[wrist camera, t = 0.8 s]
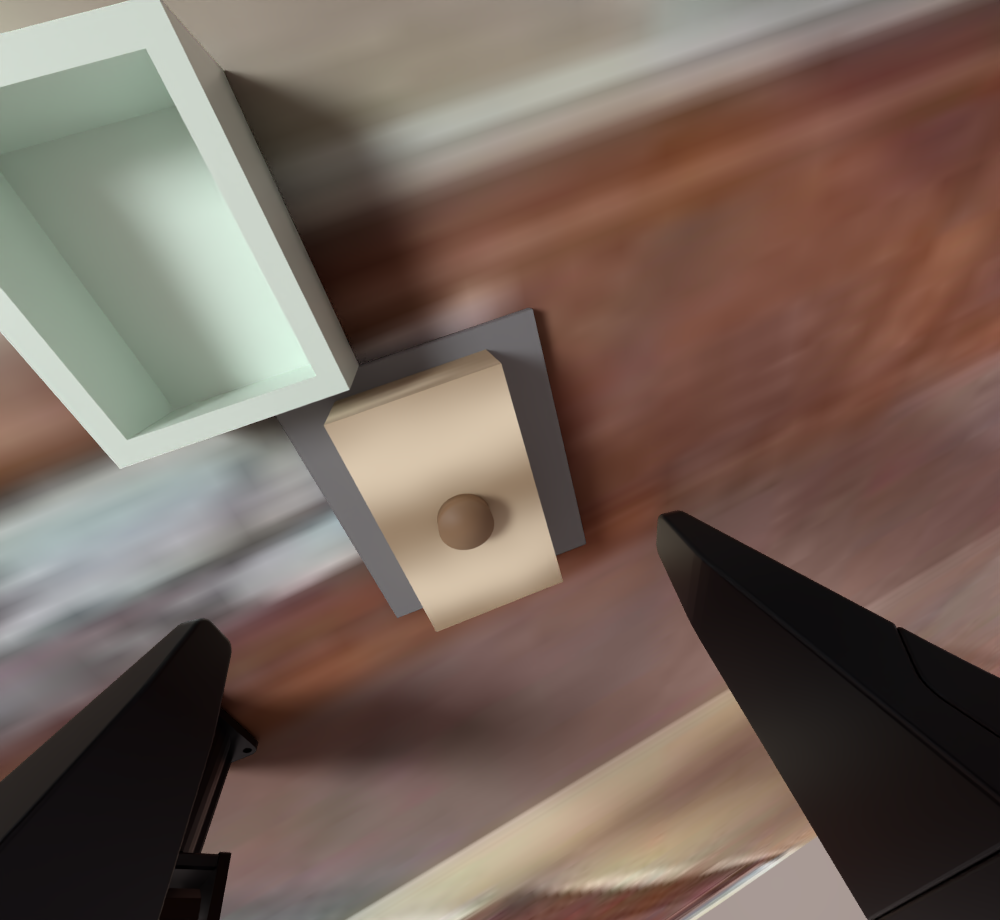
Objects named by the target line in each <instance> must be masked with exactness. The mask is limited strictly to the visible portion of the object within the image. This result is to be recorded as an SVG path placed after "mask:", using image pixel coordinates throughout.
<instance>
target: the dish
mask: <svg viewBox="0 0 1000 920" xmlns="http://www.w3.org/2000/svg"><path fill="white" fill-rule="evenodd" d="M0 332H1V333H2V334H3V335H4V336H5V338H6V339H7V340H8V341H9V342H10V343H11V344H12V346H13V347H14V348H15V349H16V350H17V351H18V352H19V354H20V355H21V356H22V357H23V358H24V359H25V360H26V362H27V363H28V364H29V365H30V366H31V367H32V368H33V370H34V371H35V372H36V373H37V374H38V375H39V377H40V378H41V379H42V380H43V381H44V382H45V383H46V385H47V386H48V387H49V388H50V389H51V390H52V391H53V393H54V394H55V395H56V396H57V397H58V398H59V399H60V401H61V402H62V403H63V404H64V405H65V406H66V408H67V409H68V410H69V411H70V412H71V413H72V414H73V416H74V417H75V418H76V419H77V420H78V421H79V422H80V424H81V425H82V426H83V427H84V428H85V429H86V430H87V432H88V433H89V434H90V435H91V436H92V437H93V438H94V440H95V441H96V442H97V443H98V444H99V445H100V447H101V448H102V449H103V450H104V451H105V452H106V453H107V455H108V456H109V457H110V458H111V459H112V460H113V461H114V463H115V464H116V465H117V466H118V467H119V468H120V469H121V468H124V467H127V466H130V465H133V464H136V463H139V462H142V461H144V460H147V459H150V458H153V457H156V456H159V455H162V454H165V453H168V452H171V451H173V450H176V449H179V448H182V447H185V446H188V445H191V444H194V443H197V442H200V441H203V440H205V439H208V438H211V437H214V436H217V435H220V434H223V433H226V432H229V431H232V430H234V429H237V428H240V427H243V426H246V425H249V424H252V423H255V422H258V421H261V420H263V419H266V418H269V417H272V416H275V415H278V414H281V413H284V412H287V411H290V410H293V409H295V408H298V407H301V406H304V405H307V404H310V403H313V402H316V401H319V400H322V399H324V398H327V397H330V396H333V395H336V394H339V393H342V392H345V391H348V390H350V388H351V385H352V382H353V380H354V377H355V375H356V372H357V370H358V367H359V364H358V362H357V360H356V358H355V355H354V353H353V351H352V349H351V347H350V345H349V342H348V340H347V338H346V336H345V334H344V332H343V329H342V327H341V325H340V323H339V321H338V319H337V316H336V314H335V312H334V310H333V308H332V306H331V303H330V301H329V299H328V297H327V295H326V293H325V290H324V288H323V286H322V284H321V282H320V280H319V277H318V275H317V273H316V271H315V269H314V267H313V264H312V262H311V260H310V258H309V256H308V254H307V251H306V249H305V247H304V245H303V243H302V241H301V238H300V236H299V234H298V232H297V230H296V228H295V225H294V223H293V221H292V219H291V217H290V214H289V212H288V210H287V208H286V206H285V204H284V201H283V199H282V197H281V195H280V193H279V191H278V188H277V186H276V184H275V182H274V180H273V178H272V175H271V173H270V171H269V169H268V167H267V165H266V162H265V160H264V158H263V156H262V154H261V152H260V149H259V147H258V145H257V143H256V141H255V139H254V136H253V134H252V132H251V130H250V128H249V126H248V123H247V121H246V119H245V117H244V115H243V113H242V110H241V108H240V106H239V104H238V102H237V100H236V97H235V95H234V93H233V91H232V89H231V87H230V84H229V82H228V80H227V78H226V76H225V74H224V71H223V69H222V68H221V67H220V66H219V64H218V63H217V62H216V61H215V60H214V59H213V58H212V57H211V55H210V54H209V53H208V52H207V51H206V50H205V49H204V47H203V46H202V45H201V44H200V43H199V42H198V41H197V39H196V38H195V37H194V36H193V35H192V34H191V33H190V31H189V30H188V29H187V28H186V27H185V26H184V25H183V23H182V22H181V21H180V20H179V19H178V18H177V17H176V15H175V14H174V13H173V12H172V11H171V10H170V9H169V7H168V6H167V5H166V4H165V3H164V2H163V1H162V0H129V1H126V2H122V3H118V4H114V5H110V6H106V7H102V8H98V9H94V10H91V11H87V12H83V13H79V14H75V15H71V16H67V17H63V18H59V19H56V20H52V21H48V22H44V23H40V24H36V25H32V26H28V27H24V28H20V29H17V30H13V31H9V32H5V33H1V34H0Z"/></svg>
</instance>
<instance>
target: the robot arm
mask: <svg viewBox="0 0 1000 920" xmlns="http://www.w3.org/2000/svg"><path fill="white" fill-rule="evenodd" d="M656 545H657V550H658V554H659V556H660V558H661V560H662V563H663V565H664V567H665V569H666V571H667V573H668V576H669V578H670V580H671V582H672V584H673V586H674V589H675V591H676V593H677V595H678V597H679V599H680V602H681V604H682V606H683V608H684V610H685V612H686V615H687V617H688V619H689V621H690V623H691V625H692V627H693V628H694V630H695V632H696V634H697V635H698V637H699V639H700V641H701V642H702V644H703V646H704V647H705V649H706V651H707V652H708V654H709V656H710V657H711V659H712V661H713V662H714V664H715V666H716V667H717V669H718V671H719V672H720V674H721V676H722V677H723V679H724V681H725V682H726V684H727V686H728V687H729V689H730V691H731V692H732V694H733V696H734V697H735V699H736V701H737V702H738V704H739V706H740V707H741V709H742V711H743V712H744V714H745V716H746V717H747V719H748V721H749V722H750V724H751V726H752V728H753V729H754V731H755V733H756V734H757V736H758V738H759V739H760V741H761V743H762V744H763V746H764V748H765V749H766V751H767V753H768V754H769V756H770V758H771V759H772V761H773V763H774V764H775V766H776V768H777V769H778V771H779V773H780V774H781V776H782V778H783V779H784V781H785V783H786V784H787V786H788V788H789V789H790V791H791V793H792V794H793V796H794V798H795V799H796V801H797V803H798V804H799V806H800V808H801V809H802V811H803V813H804V814H805V816H806V818H807V819H808V821H809V823H810V824H811V826H812V828H813V830H814V831H815V833H816V835H817V836H818V838H819V839H820V841H821V843H822V844H823V846H824V848H825V850H826V851H827V853H828V854H829V856H830V858H831V860H832V861H833V863H834V864H835V866H836V868H837V870H838V871H839V873H840V874H841V876H842V878H843V880H844V881H845V883H846V885H847V886H848V888H849V890H850V891H851V893H852V895H853V896H854V898H855V900H856V901H857V903H858V905H859V906H860V908H861V910H862V911H863V913H864V915H865V916H866V918H867V919H868V920H1000V678H999V677H997V676H995V675H993V674H991V673H989V672H987V671H985V670H983V669H981V668H979V667H977V666H975V665H973V664H971V663H969V662H967V661H965V660H963V659H961V658H959V657H957V656H955V655H953V654H951V653H949V652H947V651H946V650H944V649H942V648H940V647H938V646H936V645H934V644H932V643H930V642H928V641H926V640H924V639H922V638H921V637H919V636H917V635H915V634H913V633H911V632H909V631H907V630H906V629H904V628H901V627H897V628H896V626H895V624H894V623H892V622H890V621H888V620H886V619H884V618H883V617H881V616H879V615H877V614H875V613H873V612H871V611H869V610H868V609H866V608H864V607H862V606H860V605H858V604H856V603H854V602H852V601H851V600H849V599H847V598H845V597H843V596H841V595H839V594H837V593H836V592H834V591H832V590H830V589H828V588H826V587H824V586H822V585H820V584H819V583H817V582H815V581H813V580H811V579H809V578H807V577H805V576H804V575H802V574H800V573H798V572H796V571H794V570H792V569H790V568H789V567H787V566H785V565H783V564H781V563H779V562H777V561H775V560H773V559H772V558H770V557H768V556H766V555H764V554H762V553H760V552H758V551H757V550H755V549H753V548H751V547H749V546H747V545H745V544H743V543H741V542H740V541H738V540H736V539H734V538H732V537H730V536H728V535H726V534H725V533H723V532H721V531H719V530H717V529H715V528H713V527H711V526H709V525H708V524H706V523H704V522H702V521H700V520H698V519H696V518H694V517H693V516H691V515H689V514H687V513H685V512H683V511H673V512H668V513H664V514H661V515H660V516H659V518H658V525H657V541H656ZM230 658H231V644H230V641H229V640H228V639H227V638H226V637H225V636H224V635H223V634H222V632H221V631H220V630H219V629H218V628H217V627H216V626H215V625H214V624H213V623H212V622H211V621H210V620H208V619H205V618H201V619H196V620H192V621H187V622H184V623H181V624H180V625H178V626H177V627H176V628H175V629H174V630H172V631H171V632H170V633H169V634H168V635H167V636H166V637H164V638H163V639H162V640H161V641H160V642H159V643H158V644H156V645H155V646H154V647H153V648H152V649H151V650H150V651H149V652H147V653H146V654H145V655H144V656H143V657H142V658H141V659H139V660H138V661H137V662H136V663H135V664H134V665H133V666H132V667H130V668H129V669H128V670H127V671H126V672H125V673H124V674H122V675H121V676H120V677H119V678H118V679H117V680H116V681H114V682H113V683H112V684H111V685H110V686H109V687H108V688H107V689H105V690H104V691H103V692H102V693H101V694H100V695H99V696H97V697H96V698H95V699H94V700H93V701H92V702H91V703H89V704H88V705H87V706H86V707H85V708H84V709H83V710H82V711H80V712H79V713H78V714H77V715H76V716H75V717H74V718H72V719H71V720H70V721H69V722H68V723H67V724H66V725H65V726H63V727H62V728H61V729H60V730H59V731H58V732H57V733H55V734H54V735H53V736H52V737H51V738H50V739H49V740H47V741H46V742H45V743H44V744H43V745H42V746H41V747H40V748H38V749H37V750H36V751H35V752H34V753H33V754H32V755H30V756H29V757H28V758H27V759H26V760H25V761H24V762H22V763H21V764H20V765H19V766H18V767H17V768H16V769H15V770H13V771H12V772H11V773H10V774H9V775H8V776H7V777H5V778H4V779H3V780H2V781H1V782H0V920H219V919H220V913H221V908H222V902H223V897H224V891H225V886H226V880H227V874H228V869H229V863H230V858H231V853H230V852H219V854H204V853H201V851H202V848H203V845H204V842H205V839H206V836H207V833H208V830H209V827H210V824H211V821H212V818H213V815H214V812H215V809H216V806H217V803H218V800H219V797H220V794H221V791H222V788H223V785H224V782H225V779H226V776H227V773H228V771H229V768H230V765H231V763H232V762H234V761H237V760H239V759H242V758H244V757H247V756H249V755H252V754H253V753H255V752H256V749H257V746H258V741H257V740H256V739H255V738H253V737H252V736H251V735H250V734H249V733H248V732H247V731H246V730H245V729H244V728H242V727H241V726H240V725H239V724H238V723H237V722H236V721H235V720H234V719H233V718H231V717H230V716H229V715H228V714H227V713H226V712H225V711H224V710H223V709H221V708H220V707H221V702H222V697H223V692H224V687H225V682H226V677H227V672H228V668H229V663H230Z"/></svg>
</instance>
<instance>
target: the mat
mask: <svg viewBox="0 0 1000 920" xmlns="http://www.w3.org/2000/svg"><path fill="white" fill-rule="evenodd" d="M485 349H486V350H487V351H488V352H489V353H490V354H492V355H493V356H494V357H495V358H496V359H497V360H498V361H499V362H500V363H501V364H502V368H503V371H504V375H505V378H506V382H507V385H508V389H509V393H510V396H511V400H512V403H513V407H514V410H515V414H516V417H517V421H518V424H519V428H520V431H521V435H522V438H523V442H524V446H525V449H526V453H527V456H528V460H529V463H530V467H531V470H532V474H533V477H534V481H535V484H536V488H537V491H538V495H539V498H540V502H541V506H542V509H543V513H544V516H545V520H546V523H547V527H548V530H549V534H550V537H551V541H552V544H553V548H554V551H555V555H559V554H561V553H564V552H566V551H569V550H572V549H574V548H577V547H579V546H582V545H584V544H586V540H585V536H584V532H583V527H582V523H581V519H580V514H579V510H578V505H577V501H576V497H575V492H574V488H573V484H572V479H571V475H570V470H569V466H568V462H567V457H566V453H565V449H564V444H563V440H562V435H561V431H560V427H559V422H558V418H557V414H556V409H555V405H554V401H553V396H552V392H551V387H550V383H549V379H548V374H547V370H546V366H545V361H544V357H543V352H542V348H541V344H540V339H539V335H538V331H537V326H536V322H535V317H534V313H533V309H531V308H526V309H524V310H521V311H518V312H515V313H512V314H509V315H506V316H503V317H500V318H497V319H494V320H491V321H488V322H485V323H482V324H479V325H477V326H474V327H471V328H468V329H465V330H462V331H459V332H456V333H453V334H450V335H447V336H444V337H441V338H438V339H435V340H432V341H430V342H427V343H424V344H421V345H418V346H415V347H412V348H409V349H406V350H403V351H400V352H397V353H394V354H391V355H388V356H385V357H382V358H380V359H377V360H374V361H371V362H368V363H365V364H362V365H359V367H358V370H357V372H356V375H355V377H354V380H353V382H352V385H351V388H350V390H348V391H345V392H342V393H339V394H336V395H333V396H330V397H327V398H324V399H322V400H319V401H316V402H313V403H310V404H307V405H304V406H301V407H298V408H295V409H293V410H290V411H287V412H284V413H281V414H278V415H275V416H276V417H277V419H278V421H279V422H280V424H281V426H282V427H283V429H284V431H285V432H286V434H287V436H288V437H289V439H290V441H291V442H292V444H293V446H294V447H295V449H296V451H297V452H298V454H299V456H300V457H301V459H302V461H303V462H304V464H305V466H306V467H307V469H308V471H309V472H310V474H311V475H312V477H313V479H314V480H315V482H316V484H317V485H318V487H319V489H320V490H321V492H322V494H323V495H324V497H325V499H326V500H327V502H328V504H329V505H330V507H331V509H332V510H333V512H334V514H335V515H336V517H337V519H338V520H339V522H340V524H341V525H342V527H343V529H344V530H345V532H346V534H347V535H348V537H349V538H350V540H351V542H352V543H353V545H354V547H355V548H356V550H357V552H358V553H359V555H360V557H361V558H362V560H363V562H364V563H365V565H366V567H367V568H368V570H369V572H370V573H371V575H372V577H373V578H374V580H375V582H376V583H377V585H378V587H379V588H380V590H381V592H382V593H383V595H384V597H385V598H386V600H387V602H388V603H389V605H390V606H391V608H392V610H393V611H394V613H395V615H396V616H397V618H398V617H401V616H403V615H406V614H409V613H411V612H414V611H416V610H419V609H421V608H423V606H422V605H421V603H420V601H419V599H418V597H417V595H416V594H415V592H414V590H413V588H412V586H411V584H410V583H409V581H408V579H407V577H406V575H405V573H404V572H403V570H402V568H401V566H400V564H399V562H398V561H397V559H396V557H395V555H394V553H393V551H392V550H391V548H390V546H389V544H388V542H387V540H386V539H385V537H384V535H383V533H382V531H381V529H380V528H379V526H378V524H377V522H376V520H375V518H374V517H373V515H372V513H371V511H370V509H369V507H368V506H367V504H366V502H365V500H364V498H363V496H362V495H361V493H360V491H359V489H358V487H357V485H356V484H355V482H354V480H353V478H352V476H351V474H350V473H349V471H348V469H347V467H346V465H345V463H344V462H343V460H342V458H341V456H340V454H339V453H338V451H337V449H336V447H335V445H334V443H333V442H332V440H331V438H330V436H329V434H328V432H327V431H326V429H325V427H324V424H325V422H326V419H327V417H328V415H329V413H330V411H331V409H332V407H333V404H334V402H335V401H338V400H341V399H344V398H347V397H349V396H352V395H355V394H358V393H361V392H364V391H367V390H370V389H373V388H376V387H378V386H381V385H384V384H387V383H390V382H393V381H396V380H399V379H402V378H404V377H407V376H410V375H413V374H416V373H419V372H422V371H425V370H428V369H430V368H433V367H436V366H439V365H442V364H445V363H448V362H451V361H454V360H457V359H459V358H462V357H465V356H468V355H471V354H474V353H477V352H480V351H483V350H485Z"/></svg>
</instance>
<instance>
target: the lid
mask: <svg viewBox="0 0 1000 920" xmlns="http://www.w3.org/2000/svg"><path fill="white" fill-rule="evenodd" d="M324 427H325V429H326V431H327V432H328V434H329V436H330V438H331V440H332V442H333V443H334V445H335V447H336V449H337V451H338V453H339V454H340V456H341V458H342V460H343V462H344V463H345V465H346V467H347V469H348V471H349V473H350V474H351V476H352V478H353V480H354V482H355V484H356V485H357V487H358V489H359V491H360V493H361V495H362V496H363V498H364V500H365V502H366V504H367V506H368V507H369V509H370V511H371V513H372V515H373V517H374V518H375V520H376V522H377V524H378V526H379V528H380V529H381V531H382V533H383V535H384V537H385V539H386V540H387V542H388V544H389V546H390V548H391V550H392V551H393V553H394V555H395V557H396V559H397V561H398V562H399V564H400V566H401V568H402V570H403V572H404V573H405V575H406V577H407V579H408V581H409V583H410V584H411V586H412V588H413V590H414V592H415V594H416V595H417V597H418V599H419V601H420V603H421V605H422V606H423V608H424V610H425V612H426V614H427V616H428V617H429V619H430V621H431V623H432V625H433V627H434V628H435V630H436V632H438V631H440V630H443V629H445V628H448V627H450V626H453V625H455V624H458V623H460V622H463V621H465V620H468V619H470V618H473V617H475V616H478V615H480V614H483V613H485V612H488V611H490V610H493V609H495V608H498V607H500V606H503V605H505V604H508V603H510V602H513V601H515V600H518V599H520V598H523V597H525V596H528V595H530V594H533V593H535V592H538V591H540V590H543V589H545V588H548V587H550V586H553V585H555V584H558V583H561V582H563V580H562V576H561V573H560V569H559V566H558V562H557V559H556V555H555V551H554V548H553V544H552V541H551V537H550V534H549V530H548V527H547V523H546V520H545V516H544V513H543V509H542V506H541V502H540V498H539V495H538V491H537V488H536V484H535V481H534V477H533V474H532V470H531V467H530V463H529V460H528V456H527V453H526V449H525V446H524V442H523V438H522V435H521V431H520V428H519V424H518V421H517V417H516V414H515V410H514V407H513V403H512V400H511V396H510V393H509V389H508V385H507V382H506V378H505V375H504V371H503V368H502V364H501V363H500V362H499V361H498V360H497V359H496V358H495V357H494V356H493V355H492V354H490V353H489V352H488V351H487V350H486V349H485V350H483V351H480V352H477V353H474V354H471V355H468V356H465V357H462V358H459V359H457V360H454V361H451V362H448V363H445V364H442V365H439V366H436V367H433V368H430V369H428V370H425V371H422V372H419V373H416V374H413V375H410V376H407V377H404V378H402V379H399V380H396V381H393V382H390V383H387V384H384V385H381V386H378V387H376V388H373V389H370V390H367V391H364V392H361V393H358V394H355V395H352V396H349V397H347V398H344V399H341V400H338V401H335V402H334V404H333V407H332V409H331V411H330V413H329V415H328V417H327V419H326V422H325V424H324Z"/></svg>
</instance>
